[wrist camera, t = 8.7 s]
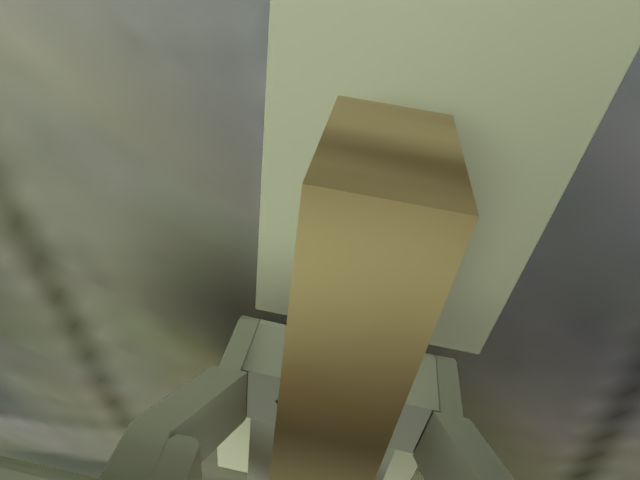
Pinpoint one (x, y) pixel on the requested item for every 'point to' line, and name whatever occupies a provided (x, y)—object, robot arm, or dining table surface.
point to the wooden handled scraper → (364, 288)
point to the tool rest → (449, 98)
